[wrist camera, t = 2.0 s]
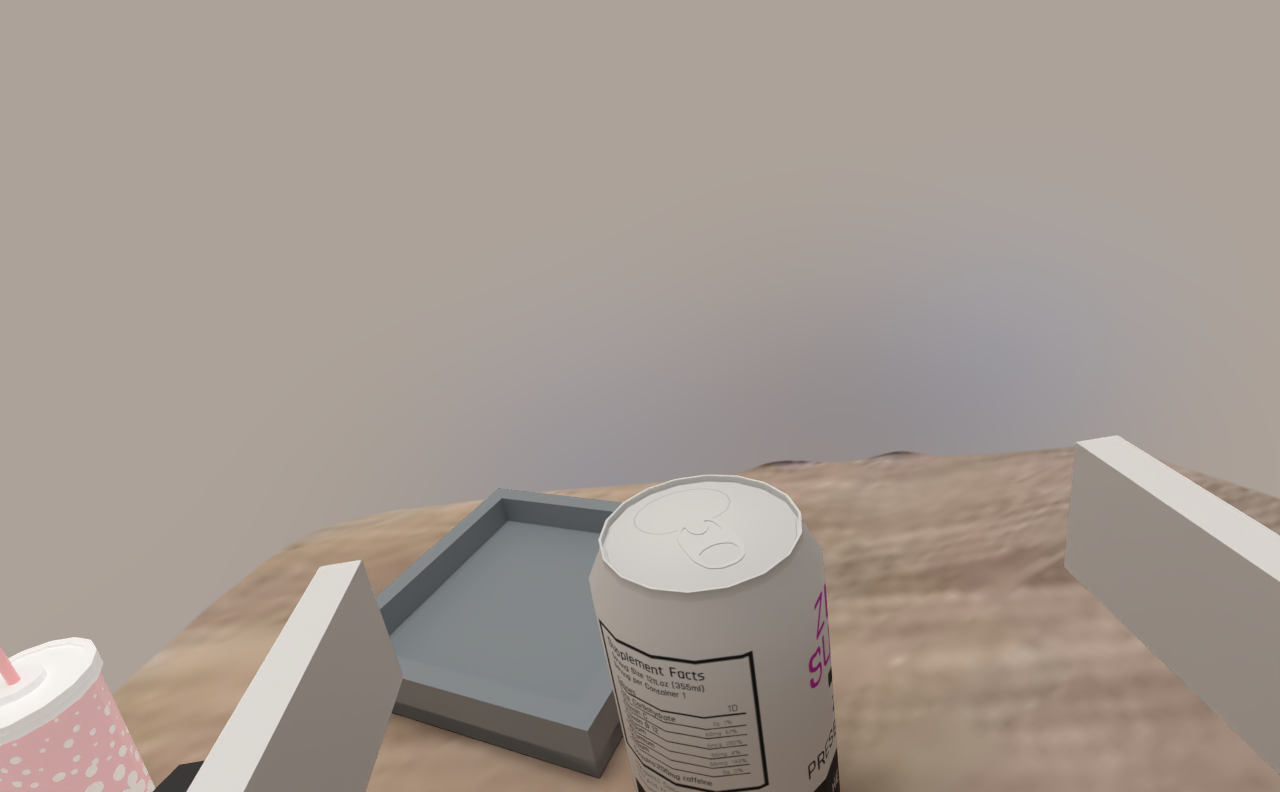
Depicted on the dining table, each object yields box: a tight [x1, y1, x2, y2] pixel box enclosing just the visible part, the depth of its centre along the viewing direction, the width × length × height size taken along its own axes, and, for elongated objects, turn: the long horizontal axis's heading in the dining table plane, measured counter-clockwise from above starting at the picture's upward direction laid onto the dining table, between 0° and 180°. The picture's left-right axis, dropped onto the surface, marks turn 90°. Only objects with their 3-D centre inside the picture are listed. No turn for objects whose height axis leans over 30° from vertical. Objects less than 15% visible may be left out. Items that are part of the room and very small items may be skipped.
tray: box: [375, 488, 623, 778], centre depth 44 cm, size 18×18×3 cm
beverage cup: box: [0, 637, 156, 792], centre depth 33 cm, size 6×6×14 cm
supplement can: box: [589, 475, 840, 792], centre depth 27 cm, size 8×8×15 cm
